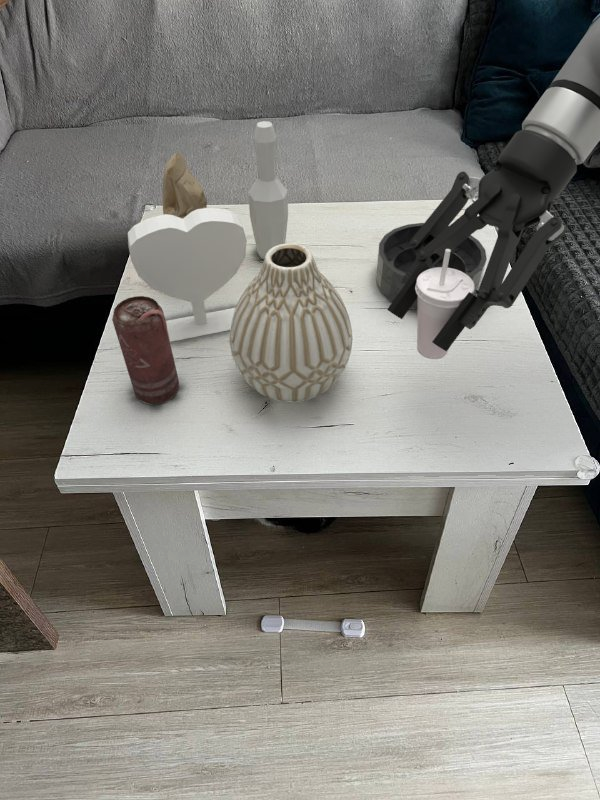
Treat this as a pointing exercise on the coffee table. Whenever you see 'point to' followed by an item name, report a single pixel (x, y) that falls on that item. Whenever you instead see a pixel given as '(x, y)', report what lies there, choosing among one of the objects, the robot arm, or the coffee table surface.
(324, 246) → the coffee table surface
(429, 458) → the coffee table surface
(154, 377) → the can
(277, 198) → the low poly bottle
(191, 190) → the tan rock
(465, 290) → the smoothie
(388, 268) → the bowl
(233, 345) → the vase
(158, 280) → the heart sculpture
